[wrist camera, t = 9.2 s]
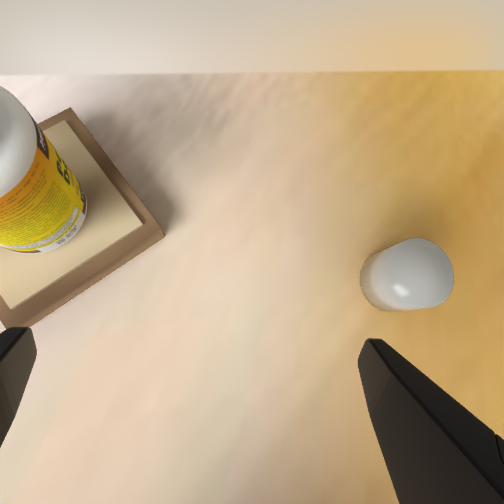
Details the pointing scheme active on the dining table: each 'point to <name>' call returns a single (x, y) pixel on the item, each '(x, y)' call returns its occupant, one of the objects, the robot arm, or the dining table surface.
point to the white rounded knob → (407, 276)
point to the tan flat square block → (87, 238)
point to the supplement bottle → (34, 185)
